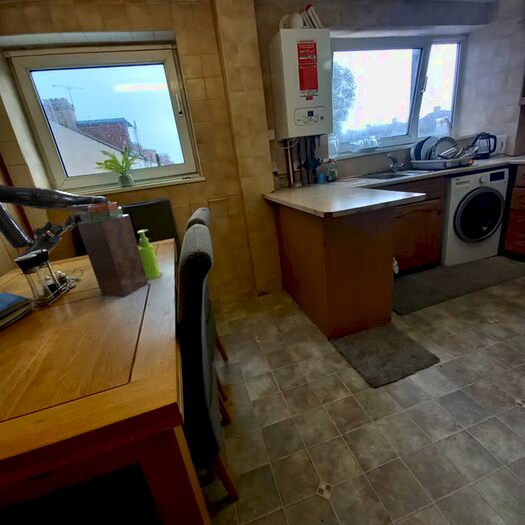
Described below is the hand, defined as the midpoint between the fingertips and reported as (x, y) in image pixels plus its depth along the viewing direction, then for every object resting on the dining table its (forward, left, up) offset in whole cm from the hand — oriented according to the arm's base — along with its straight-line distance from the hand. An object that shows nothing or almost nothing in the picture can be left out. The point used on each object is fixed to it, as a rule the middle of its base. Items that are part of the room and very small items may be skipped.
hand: (62, 220), depth 108 cm
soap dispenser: (-6, +28, -28) cm, 40 cm away
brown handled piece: (+4, +17, +1) cm, 17 cm away
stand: (+6, +22, -28) cm, 36 cm away
